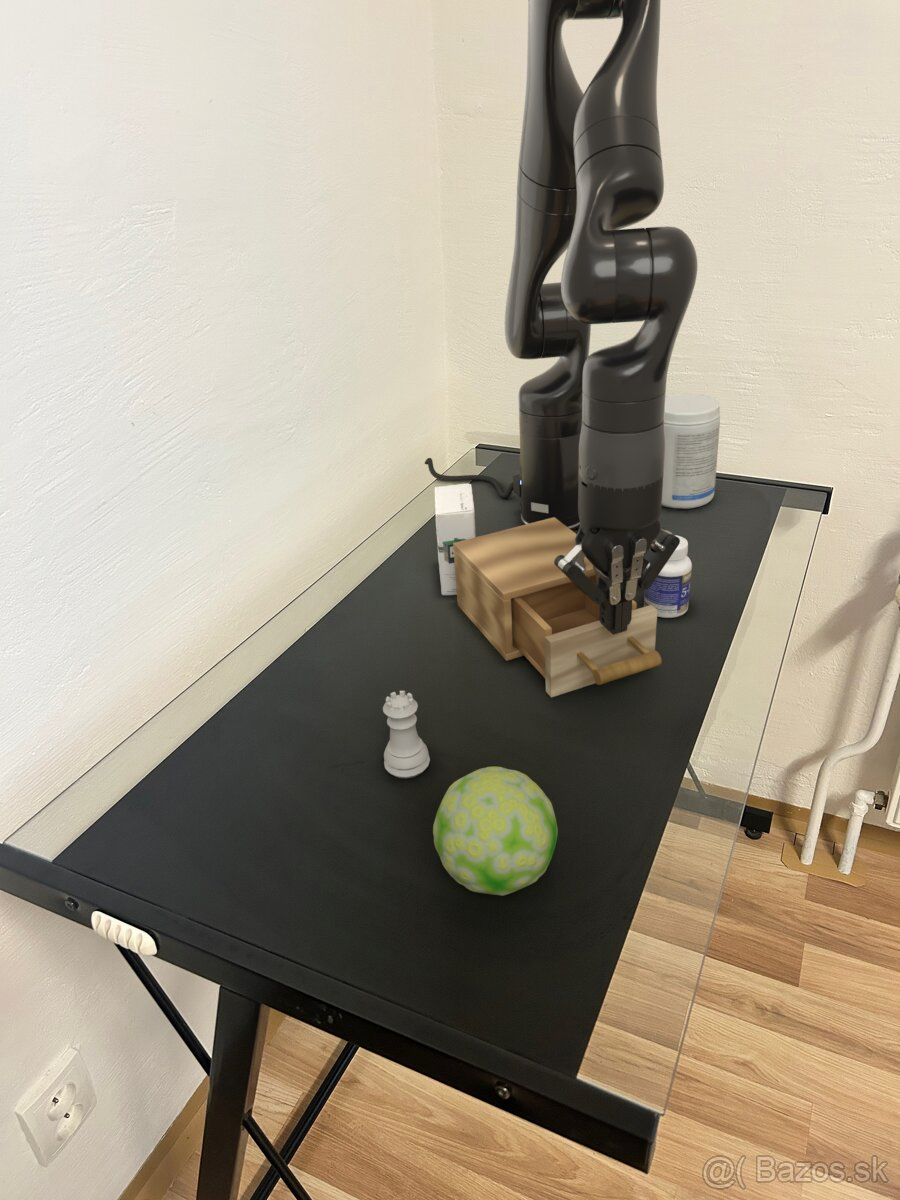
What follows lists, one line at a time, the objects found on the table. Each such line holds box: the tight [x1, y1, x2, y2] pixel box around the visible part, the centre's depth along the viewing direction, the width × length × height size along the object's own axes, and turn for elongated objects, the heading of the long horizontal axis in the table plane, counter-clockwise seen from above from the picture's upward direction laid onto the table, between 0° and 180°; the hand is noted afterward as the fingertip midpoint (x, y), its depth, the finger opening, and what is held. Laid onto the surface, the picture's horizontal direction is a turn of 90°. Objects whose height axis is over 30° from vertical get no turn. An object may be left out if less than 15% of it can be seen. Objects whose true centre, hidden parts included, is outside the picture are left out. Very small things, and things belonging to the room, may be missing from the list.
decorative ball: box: [432, 766, 559, 897], centre depth 70 cm, size 10×10×10 cm
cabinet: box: [453, 517, 595, 662], centre depth 104 cm, size 14×14×9 cm
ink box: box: [434, 483, 477, 596], centre depth 113 cm, size 9×5×12 cm, turn 2°
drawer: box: [511, 575, 662, 698], centre depth 94 cm, size 18×13×7 cm
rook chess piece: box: [382, 690, 431, 779], centre depth 83 cm, size 4×4×8 cm
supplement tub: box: [661, 393, 721, 510], centre depth 129 cm, size 10×10×15 cm
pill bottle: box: [643, 534, 693, 619], centre depth 104 cm, size 5×5×9 cm
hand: (614, 628), depth 88 cm, fingers closed
